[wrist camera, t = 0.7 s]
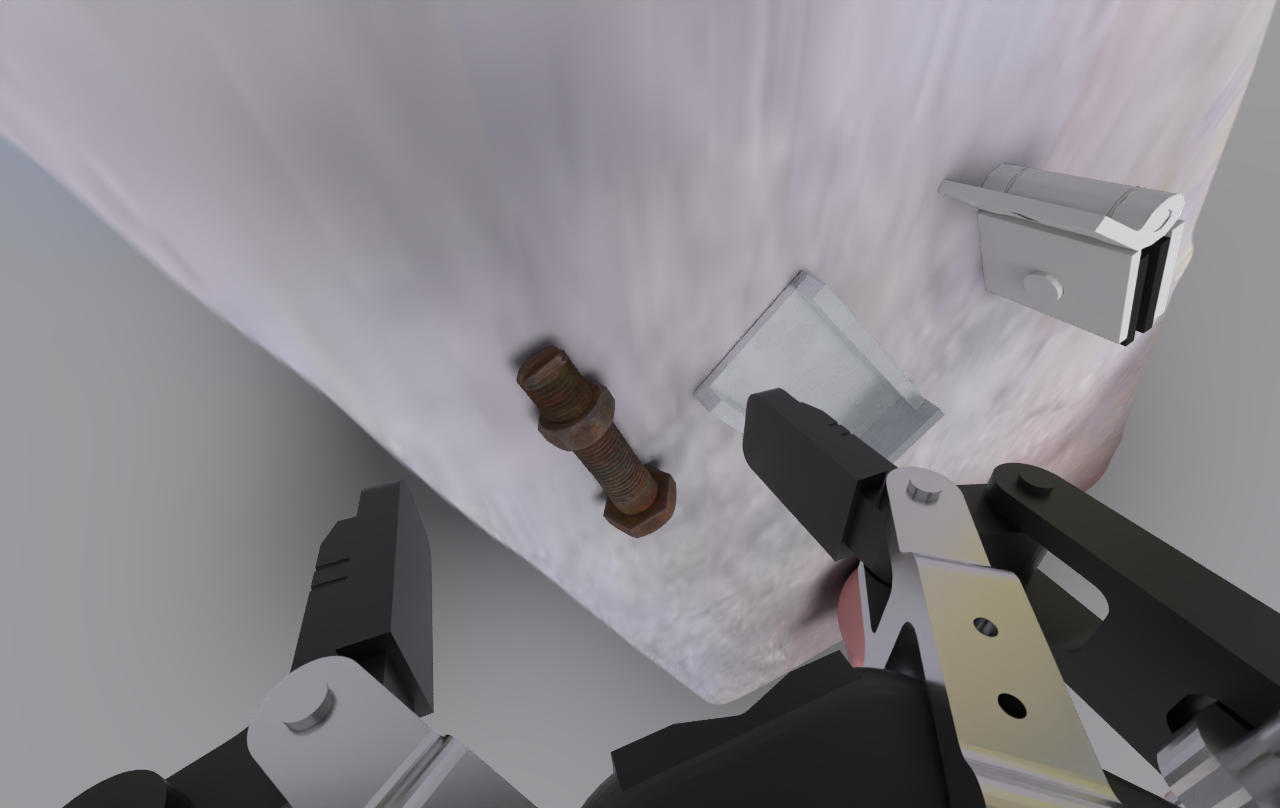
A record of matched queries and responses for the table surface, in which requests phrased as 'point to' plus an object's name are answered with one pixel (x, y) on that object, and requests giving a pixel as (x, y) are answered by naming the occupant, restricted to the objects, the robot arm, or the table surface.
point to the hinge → (1077, 246)
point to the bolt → (597, 442)
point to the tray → (821, 371)
